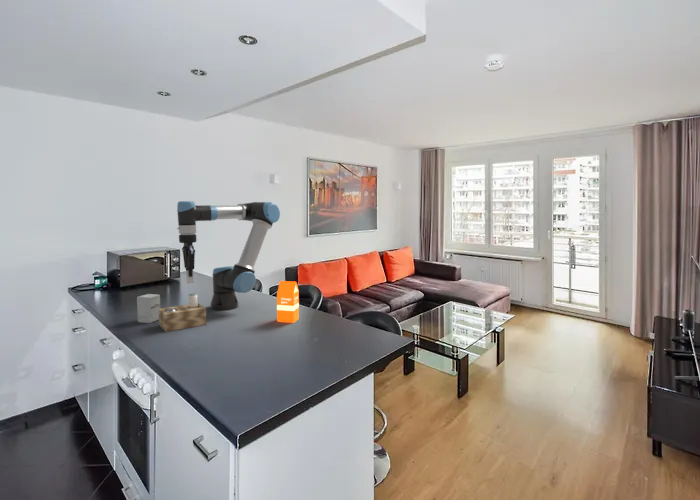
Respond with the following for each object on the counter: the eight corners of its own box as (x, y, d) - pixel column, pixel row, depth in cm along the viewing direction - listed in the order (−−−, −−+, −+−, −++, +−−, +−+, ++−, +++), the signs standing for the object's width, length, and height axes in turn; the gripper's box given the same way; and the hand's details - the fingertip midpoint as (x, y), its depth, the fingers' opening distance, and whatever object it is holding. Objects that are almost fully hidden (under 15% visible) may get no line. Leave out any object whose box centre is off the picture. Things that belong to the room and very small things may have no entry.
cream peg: (196, 309, 180) (195, 292, 179) (199, 311, 177) (198, 294, 176) (187, 310, 177) (187, 293, 176) (190, 312, 174) (189, 295, 173)
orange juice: (293, 323, 180) (293, 283, 178) (276, 321, 182) (276, 282, 180) (298, 318, 188) (298, 280, 186) (282, 317, 189) (282, 279, 187)
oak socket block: (198, 318, 185) (197, 303, 184) (206, 324, 176) (205, 308, 175) (159, 325, 173) (158, 308, 173) (165, 331, 164) (164, 314, 163)
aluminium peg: (175, 324, 174) (174, 307, 173) (177, 326, 171) (176, 309, 170) (165, 326, 172) (165, 309, 171) (168, 328, 169) (167, 310, 168)
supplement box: (150, 323, 176) (149, 297, 175) (137, 322, 178) (136, 296, 176) (161, 319, 183) (160, 294, 182) (148, 318, 185) (147, 293, 184)
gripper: (175, 233, 175) (178, 281, 178) (182, 235, 165) (185, 286, 168) (191, 232, 180) (194, 280, 183) (200, 234, 170) (202, 284, 172)
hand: (190, 283), depth 175 cm, fingers closed
